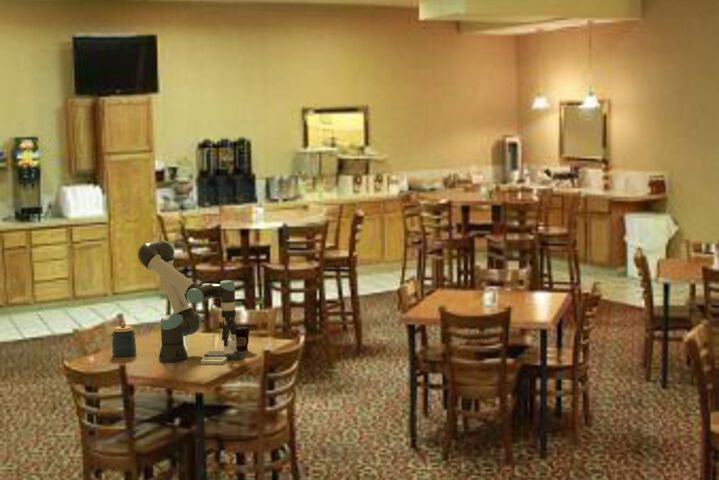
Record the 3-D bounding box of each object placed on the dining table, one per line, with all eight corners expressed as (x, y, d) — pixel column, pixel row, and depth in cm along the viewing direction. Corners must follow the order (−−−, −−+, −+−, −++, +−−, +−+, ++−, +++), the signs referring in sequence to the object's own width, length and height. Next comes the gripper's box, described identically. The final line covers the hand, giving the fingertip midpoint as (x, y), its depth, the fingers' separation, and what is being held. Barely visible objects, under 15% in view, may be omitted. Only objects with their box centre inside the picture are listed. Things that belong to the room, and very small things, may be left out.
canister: (107, 355, 550) (105, 323, 548) (127, 350, 560) (125, 319, 558) (121, 358, 542) (119, 326, 540) (141, 354, 551) (139, 322, 549)
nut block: (224, 359, 535) (223, 340, 534) (227, 356, 540) (226, 338, 538) (233, 359, 534) (232, 340, 533) (236, 356, 539) (235, 338, 538)
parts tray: (200, 364, 524) (200, 360, 524) (205, 360, 533) (205, 356, 533) (222, 364, 523) (222, 361, 522) (227, 360, 531) (227, 356, 531)
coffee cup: (247, 353, 547) (246, 329, 546) (232, 352, 549) (231, 329, 547) (251, 349, 556) (251, 326, 554) (237, 349, 557) (236, 326, 556)
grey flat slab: (204, 359, 534) (204, 354, 534) (209, 355, 543) (209, 351, 543) (240, 360, 531) (240, 355, 531) (245, 356, 540) (245, 351, 540)
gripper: (228, 314, 521) (230, 354, 523) (241, 305, 545) (243, 344, 548) (214, 314, 522) (216, 354, 525) (228, 305, 546) (230, 344, 549)
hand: (230, 349), depth 536 cm, fingers open, 12 cm apart
